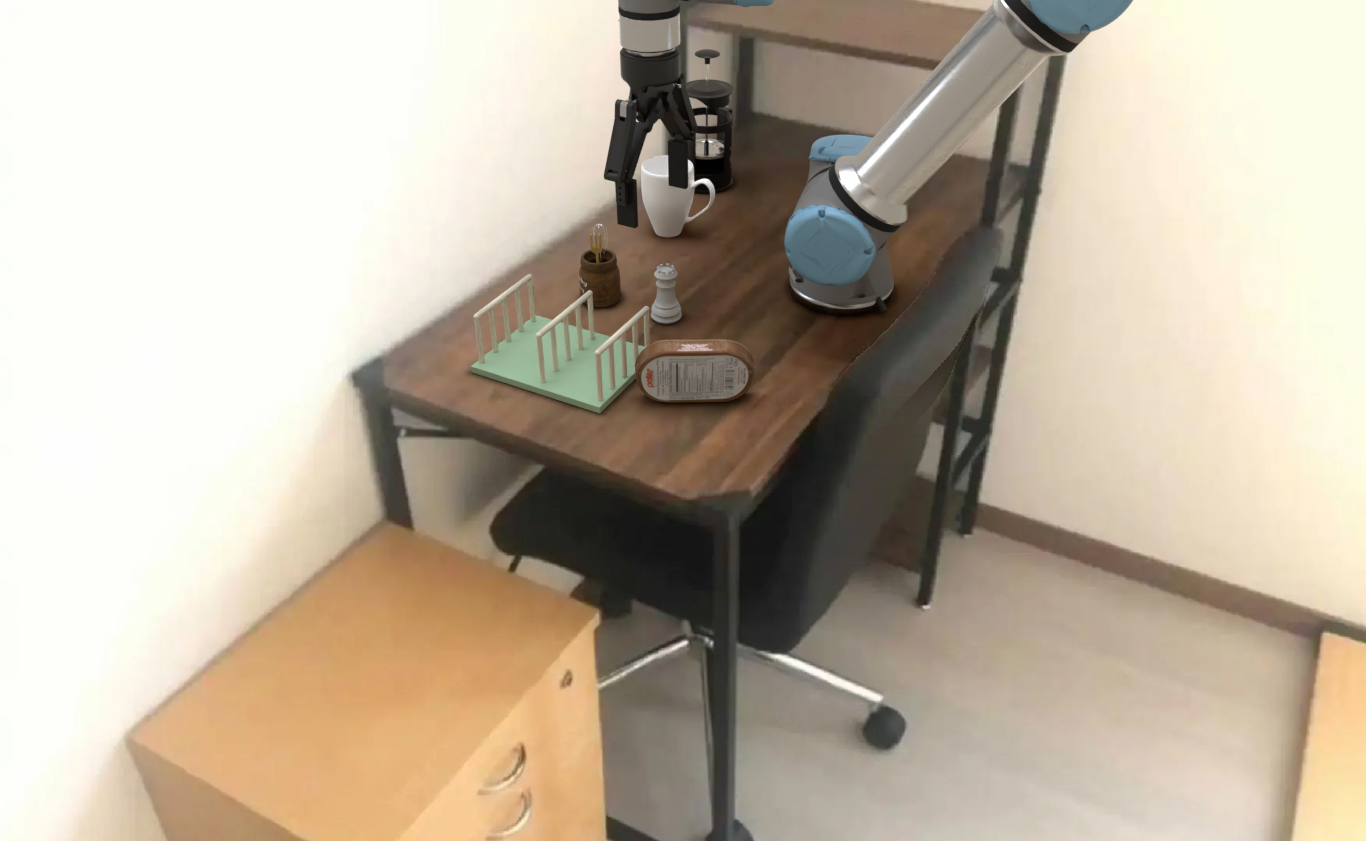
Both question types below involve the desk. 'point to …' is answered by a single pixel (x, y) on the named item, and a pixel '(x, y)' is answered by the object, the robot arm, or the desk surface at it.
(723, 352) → the tin
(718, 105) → the french press
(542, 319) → the drying rack
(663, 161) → the mug
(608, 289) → the utensil holder
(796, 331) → the desk surface
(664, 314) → the rook chess piece
